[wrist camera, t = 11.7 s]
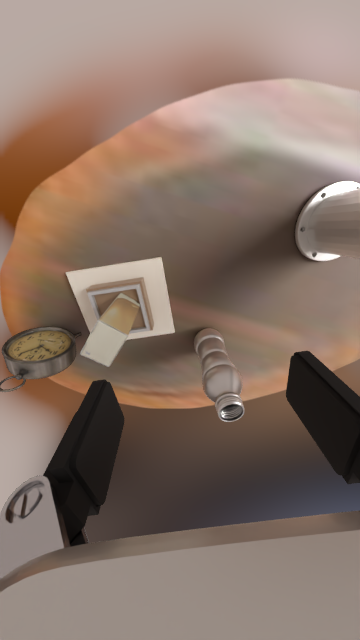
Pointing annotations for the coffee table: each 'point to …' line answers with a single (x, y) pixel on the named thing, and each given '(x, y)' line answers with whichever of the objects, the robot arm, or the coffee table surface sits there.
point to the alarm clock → (39, 353)
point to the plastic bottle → (219, 375)
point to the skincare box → (111, 330)
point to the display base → (126, 273)
